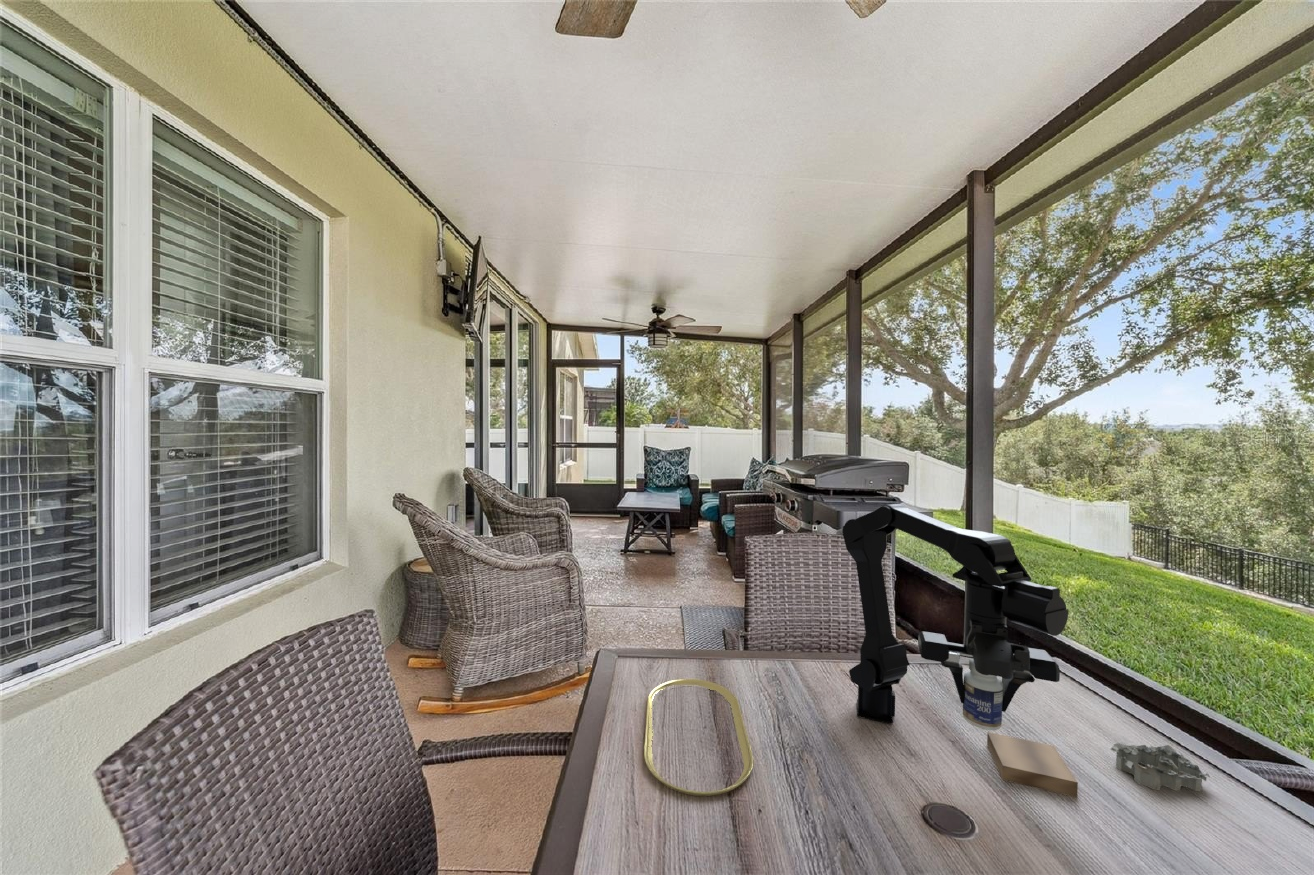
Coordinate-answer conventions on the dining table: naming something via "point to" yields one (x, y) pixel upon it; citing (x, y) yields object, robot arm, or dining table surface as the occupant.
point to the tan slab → (1031, 764)
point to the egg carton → (1166, 763)
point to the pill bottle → (982, 699)
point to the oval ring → (738, 724)
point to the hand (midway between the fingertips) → (982, 706)
